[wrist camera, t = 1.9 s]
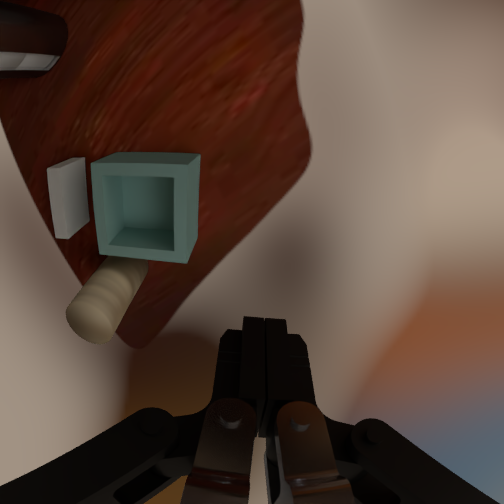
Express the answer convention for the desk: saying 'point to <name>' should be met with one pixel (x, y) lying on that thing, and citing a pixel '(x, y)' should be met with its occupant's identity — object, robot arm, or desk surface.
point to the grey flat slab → (68, 196)
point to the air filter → (29, 41)
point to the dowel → (106, 298)
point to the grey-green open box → (146, 204)
